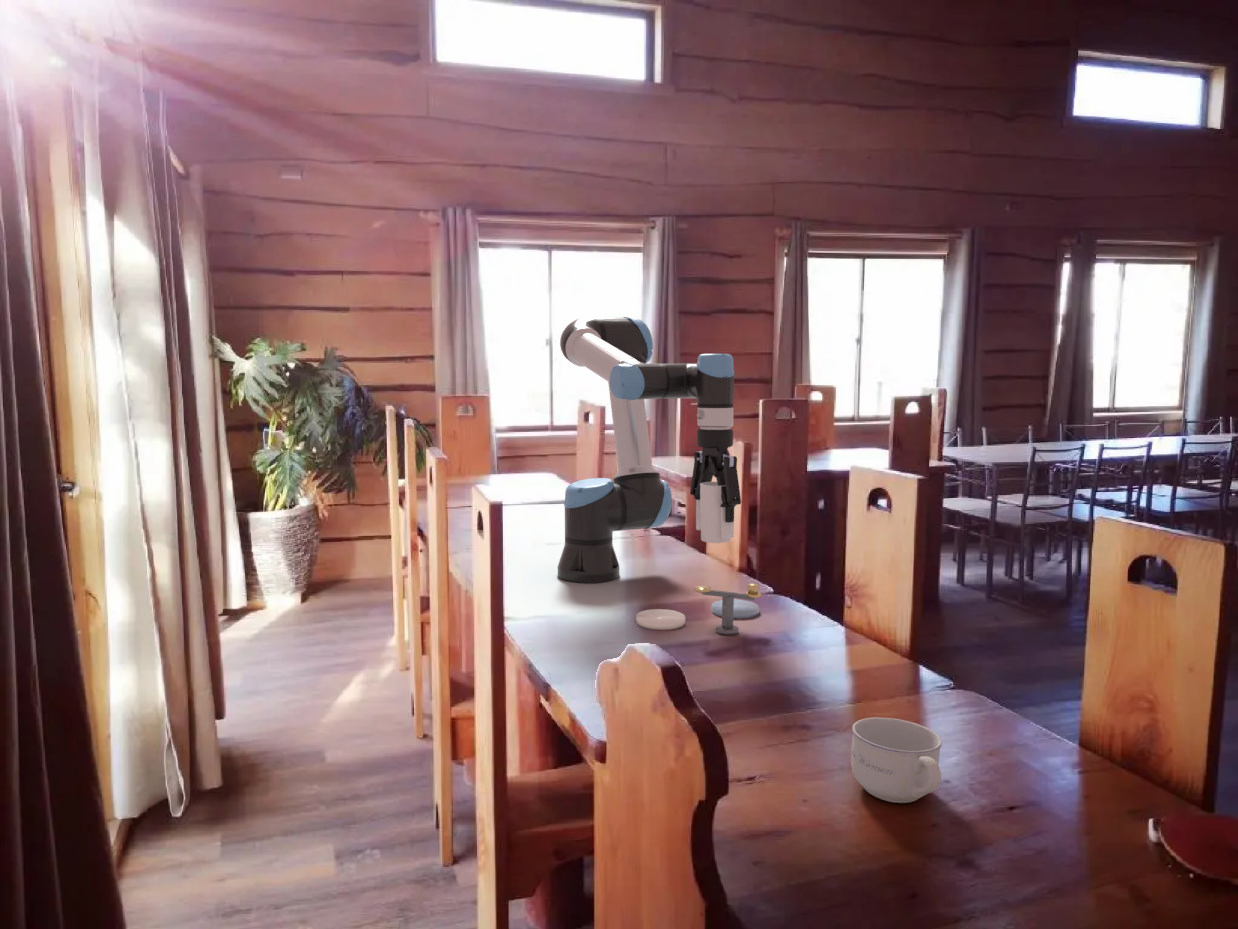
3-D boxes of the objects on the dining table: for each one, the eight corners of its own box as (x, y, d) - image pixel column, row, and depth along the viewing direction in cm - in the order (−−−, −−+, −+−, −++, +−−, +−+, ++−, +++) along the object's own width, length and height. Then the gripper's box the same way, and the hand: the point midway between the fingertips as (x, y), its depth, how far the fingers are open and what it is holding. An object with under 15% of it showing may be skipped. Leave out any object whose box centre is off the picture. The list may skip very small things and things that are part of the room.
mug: (735, 542, 184) (736, 485, 182) (704, 544, 183) (704, 486, 181) (723, 534, 194) (723, 479, 192) (693, 535, 193) (693, 480, 191)
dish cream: (627, 618, 184) (627, 612, 184) (670, 612, 188) (670, 606, 188) (650, 632, 175) (650, 626, 175) (694, 625, 179) (694, 620, 179)
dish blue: (702, 607, 191) (702, 602, 191) (741, 602, 196) (742, 597, 196) (727, 620, 182) (728, 615, 182) (768, 614, 187) (768, 609, 187)
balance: (689, 633, 174) (690, 586, 173) (752, 624, 181) (753, 578, 179) (700, 640, 170) (701, 592, 169) (764, 630, 177) (766, 583, 175)
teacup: (838, 772, 118) (840, 715, 117) (917, 769, 119) (920, 712, 118) (876, 829, 104) (880, 764, 103) (965, 825, 105) (970, 761, 104)
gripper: (674, 425, 194) (674, 526, 197) (727, 431, 174) (726, 544, 176) (704, 424, 197) (704, 523, 200) (759, 430, 177) (758, 541, 179)
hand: (714, 533), depth 188 cm, fingers closed on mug, 10 cm apart
